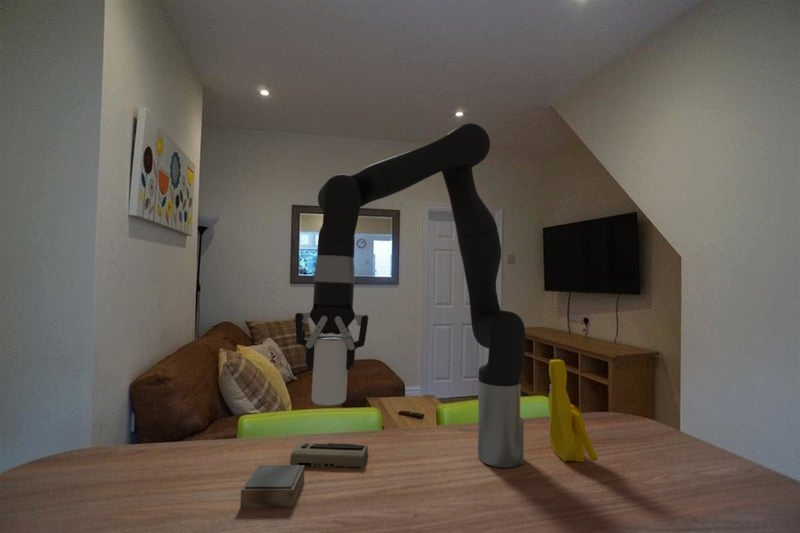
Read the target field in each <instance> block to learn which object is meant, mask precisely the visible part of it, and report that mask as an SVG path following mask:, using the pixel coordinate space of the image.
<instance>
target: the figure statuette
mask: <svg viewBox="0 0 800 533" xmlns="http://www.w3.org/2000/svg"><path fill="white" fill-rule="evenodd" d="M548 363H549V364H548V375H549V379H550V384H551V390H550V393H549V395H548V400H547V402H548V408H549V410H548V411H549V417H550V419H549V421H550V422H549V430H548V431H549V433H548V434H549V443H550V447H551V451H552V452H553V453H555V454H556V455H557V456H558V457H559V459H561V460H562V461H563V462H580V463H583V462H585V450H586V454H587V456H588V458H589V460H590V462H593V461H594V462H595V461H597V460H599V457H598V455H597V453H596V451H595V448H594V446H593V444H592V441H591V440H590V437H589V434H588V433H587V430H586V427H585V424H586V422H585V419H584V418H583V416H582V415H583V413H582V412H581V411H580V409H578V408H577V407H576V406H575V405H573V403H571V400H570V397H569V394H568V392H567V391H568V390H567V389H566V388H567V379H568V377H567V375H568V373H567V367H566V363H565V360H562V359H558V358H555V359H550V360H549V362H548Z"/></svg>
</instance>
